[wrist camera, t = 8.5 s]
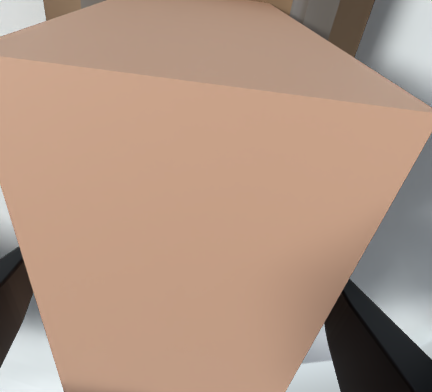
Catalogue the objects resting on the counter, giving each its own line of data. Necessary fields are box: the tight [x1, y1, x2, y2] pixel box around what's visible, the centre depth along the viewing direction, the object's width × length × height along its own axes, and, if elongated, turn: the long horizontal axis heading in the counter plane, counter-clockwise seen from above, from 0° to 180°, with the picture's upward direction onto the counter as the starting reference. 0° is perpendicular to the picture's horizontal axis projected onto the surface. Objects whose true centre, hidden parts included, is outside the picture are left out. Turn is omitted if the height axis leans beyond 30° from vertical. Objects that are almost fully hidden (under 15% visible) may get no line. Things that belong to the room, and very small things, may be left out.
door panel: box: [0, 0, 432, 392], centre depth 10 cm, size 4×14×9 cm, turn 172°
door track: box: [43, 0, 375, 57], centre depth 13 cm, size 10×20×3 cm, turn 172°
